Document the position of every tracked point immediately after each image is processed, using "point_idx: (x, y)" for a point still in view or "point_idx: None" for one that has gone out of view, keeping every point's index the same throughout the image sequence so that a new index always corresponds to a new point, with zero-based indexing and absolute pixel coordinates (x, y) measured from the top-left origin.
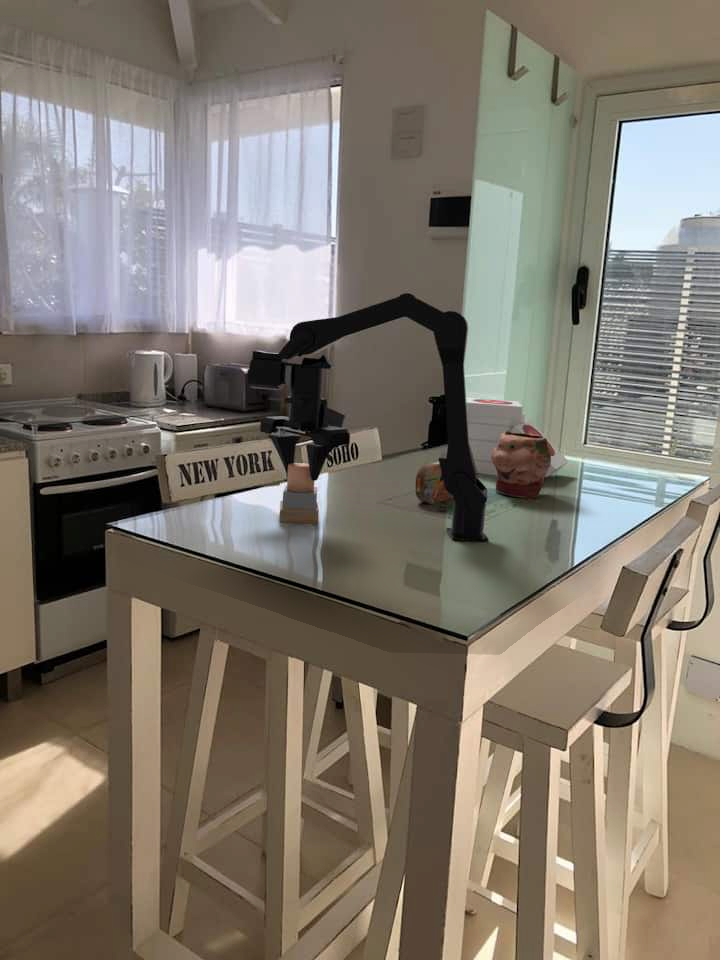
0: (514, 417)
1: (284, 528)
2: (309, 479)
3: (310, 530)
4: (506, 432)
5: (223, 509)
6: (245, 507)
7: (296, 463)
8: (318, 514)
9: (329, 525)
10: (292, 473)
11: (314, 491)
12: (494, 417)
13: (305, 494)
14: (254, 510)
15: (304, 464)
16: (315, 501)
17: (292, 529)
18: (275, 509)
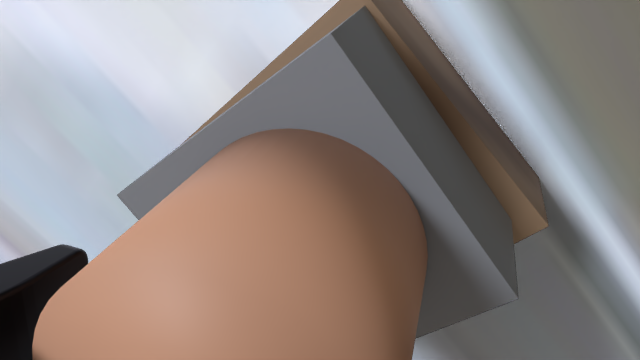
0: None
1: (430, 342)
2: None
3: (568, 300)
4: None
5: (9, 243)
6: (12, 145)
7: (56, 349)
8: (545, 213)
9: (611, 134)
10: None
11: (437, 220)
12: None
13: (430, 325)
14: (81, 162)
15: (156, 342)
16: (511, 258)
17: (474, 336)
18: (112, 57)
